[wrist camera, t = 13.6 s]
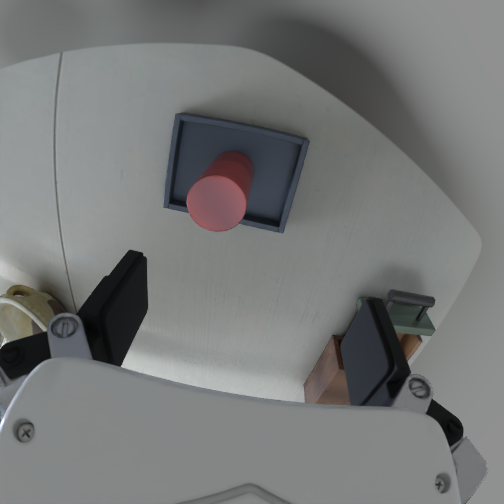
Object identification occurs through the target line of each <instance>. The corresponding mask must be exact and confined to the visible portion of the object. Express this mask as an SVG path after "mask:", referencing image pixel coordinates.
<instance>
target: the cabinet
mask: <svg viewBox="0 0 504 504" xmlns="http://www.w3.org/2000/svg"><path fill="white" fill-rule="evenodd" d="M343 338H344V337H343V336H335V335H332V337H331V339H330V341H329V342H328V344H327V346H326V348H325V350H324V351H323V353H322V355H321V357H320V359H319V360H318V362H317V364H316V365H315V367H314V369H313V371H312V372H311V374H310V376H309V377H308V379H307V381H306V382H305V384H304V395H305V403H312V404H327V405H349V406H351V405H350V399H349V393H348V387H347V381H346V375H345V370H344V366H343V362H342V357H341V353H340V348H339V345H340V344H341V342H342V340H343ZM409 373H410V374H411V371H410V370H409Z"/></svg>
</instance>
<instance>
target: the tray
mask: <svg viewBox="0 0 504 504" xmlns="http://www.w3.org/2000/svg"><path fill="white" fill-rule="evenodd" d="M308 145H309V140H308V139H307V138H304V137H300V136H296V135H292V134H289V133H285V132H281V131H276V130H272V129H268V128H264V127H259V126H255V125H250V124H245V123H240V122H235V121H230V120H224V119H219V118H213V117H207V116H200V115H194V114H187V113H178V114H176V115H175V121H174V127H173V133H172V140H171V146H170V154H169V161H168V169H167V177H166V186H165V195H164V206H163V207H164V208H169V209H173V210H178V211H182V212H187V213H189V211H188V207H187V196H188V192H189V190H190V188H191V187H192V185H193V184H194V183H195V182H196V181H197V179H198V178H199V177H200V176H201V175H202V174H203V173H204V171H205V170H206V169H207V168H208V167H209V166H210V165H211V163H212V162H213V161H214V160H215V159H216V158H217V157H218V156H219V155H220V154H222V153H224V152H227V151H238V152H241V153H243V154H245V155H246V156H247V157H248V158H249V159H250V160H251V162H252V164H253V167H254V176H253V180H252V185H251V190H250V195H249V199H248V204H247V209H246V213H245V215H244V217H243V219H242V220H241V222H240V223H239V224H243V225H248V226H252V227H257V228H261V229H266V230H270V231H274V232H279V233H283V232H284V229H285V225H286V222H287V219H288V215H289V212H290V208H291V205H292V201H293V198H294V195H295V191H296V188H297V184H298V181H299V177H300V174H301V170H302V167H303V163H304V159H305V156H306V152H307V149H308Z"/></svg>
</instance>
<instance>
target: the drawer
mask: <svg viewBox="0 0 504 504" xmlns="http://www.w3.org/2000/svg"><path fill="white" fill-rule="evenodd" d="M364 300H367V299H365V298H359V300H358V302H357V304H356V305H357V308H358V310H359V308H360V307H361V305H362V303H363V301H364ZM394 302H400V303H406V304H412V305H418V306H423V307H422V308H420V307H413V306H407V305H401V304H395V303H394ZM434 304H435V299H434V297H430V296H425V295H419V294H414V293H409V292H403V291H398V290H393V289H392V290H390V291H389V293H388V301H387V302H384V305H385V307H386V309H387V312H388V314H389V316H390V319H391V321H392V324H393V326H394V329H395V331H396V334H397V336H398V339H399V341H400V344H401V346H402V349H403V352H404V354H405V357H406V360H407V362H408V360H409V359H410V358H411V356H412V355H413V354H414V353H415V351H416V350H417V349H418V347H419V346H420V345H421V343H422V342H423V341H422V339H421V337H420V335H425V336H432V335H433V333H434V332H435V328H434V326H433V324H432V322H431V320H430V318H429V317H428V315H427V313H426V311H427V310H428V308H429V307H433V306H434ZM340 346H341V344H340V345H339V348H340ZM340 353H341V349H340ZM341 357H342V354H341ZM342 362H343V359H342ZM343 366H344V365H343Z"/></svg>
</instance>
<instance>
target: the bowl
mask: <svg viewBox="0 0 504 504" xmlns="http://www.w3.org/2000/svg"><path fill="white" fill-rule="evenodd" d="M15 295H22V296H24V297H17V296H15ZM60 313H66V311H65V309H64V307H63V306H62V305H61V304H60V303H59V302H58V301H57V300H56V299H54V298H53V297H52V296H51V295H48V294H47V293H45V292H43V293H42V292H41V293H39V292H37V291H35V290H34V289H32V288H29V287H27V286H23V285H14V286H12V287H10V288H9V289H8V290H7V292H6V295H3V296H0V332H1V334H2V335H3V336H4V337H5V338H6V340H7V341H8V342H10V341H14V340H17V339H21V338H24V337H28V336H31V335H35V334H38V333H41V332H45V331H47V325H48V323H49V321H50V320H51V319H52V318H53V317H54V316H56V315H58V314H60Z"/></svg>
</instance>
